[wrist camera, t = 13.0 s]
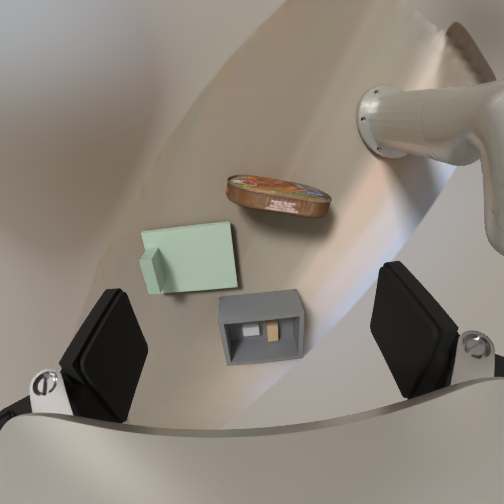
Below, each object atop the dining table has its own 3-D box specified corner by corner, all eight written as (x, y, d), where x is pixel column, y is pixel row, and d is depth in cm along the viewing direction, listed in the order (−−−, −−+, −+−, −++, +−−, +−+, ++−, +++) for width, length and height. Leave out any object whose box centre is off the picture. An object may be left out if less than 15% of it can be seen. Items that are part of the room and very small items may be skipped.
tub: (296, 288, 51) (304, 311, 44) (296, 333, 55) (302, 357, 49) (219, 296, 50) (218, 320, 44) (227, 340, 55) (227, 365, 49)
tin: (322, 188, 43) (341, 201, 35) (318, 206, 44) (335, 223, 37) (228, 171, 41) (226, 181, 34) (225, 191, 42) (223, 206, 35)
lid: (230, 218, 45) (229, 233, 39) (237, 280, 49) (238, 301, 44) (145, 228, 44) (132, 244, 38) (159, 287, 49) (151, 308, 43)
